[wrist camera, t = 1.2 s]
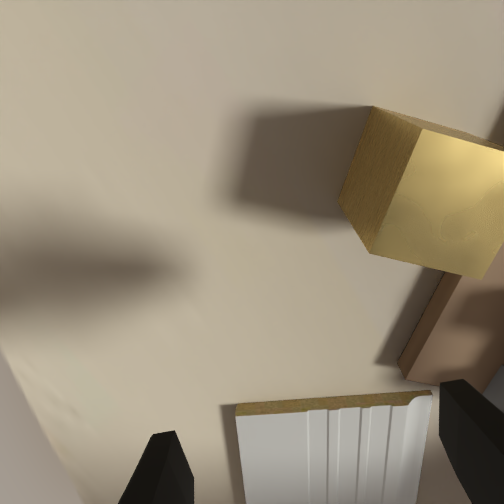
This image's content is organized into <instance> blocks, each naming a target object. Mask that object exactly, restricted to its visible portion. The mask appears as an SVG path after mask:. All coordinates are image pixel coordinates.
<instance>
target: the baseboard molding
mask: <svg viewBox="0 0 504 504" xmlns="http://www.w3.org/2000/svg"><path fill="white" fill-rule="evenodd" d="M432 397H433V394H432V392H431V390H425V391H411V392H397V393H383V394H369V395H354V396H340V397H326V398H312V399H298V400H284V401H269V402H255V403H241V404H237V406H236V411H235V418H236V426H237V434H238V442H239V450H240V459H241V467H242V475H243V483H244V491H245V499H246V504H416V500H417V493H418V487H419V481H420V474H421V468H422V461H423V455H424V448H425V442H426V435H427V429H428V423H429V416H430V410H431V403H432Z"/></svg>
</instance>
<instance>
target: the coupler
mask: <svg viewBox="0 0 504 504" xmlns="http://www.w3.org/2000/svg"><path fill="white" fill-rule="evenodd" d="M337 202H338V203H339V205H340V207H341V208H342V210H343V212H344V213H345V215H346V216H347V218H348V220H349V221H350V223H351V225H352V226H353V228H354V229H355V231H356V233H357V234H358V236H359V238H360V239H361V241H362V242H363V244H364V246H365V247H366V249H367V251H368V252H369V253H370V254H374V255H378V256H382V257H387V258H391V259H395V260H399V261H403V262H408V263H412V264H416V265H420V266H425V267H429V268H433V269H437V270H442V271H446V272H450V273H454V274H459V275H463V276H467V277H471V278H475V279H480V280H482V278H483V277H484V275H485V273H486V271H487V270H488V268H489V266H490V264H491V263H492V261H493V259H494V257H495V256H496V254H497V252H498V251H499V249H500V247H501V245H502V244H503V242H504V147H502V146H500V145H497V144H495V143H492V142H490V141H487V140H484V139H482V138H479V137H477V136H474V135H471V134H469V133H466V132H463V131H459V130H456V129H452V128H449V127H445V126H442V125H438V124H435V123H431V122H428V121H424V120H421V119H417V118H414V117H410V116H407V115H403V114H400V113H396V112H393V111H389V110H386V109H382V108H379V107H375V106H373V107H372V109H371V112H370V115H369V118H368V120H367V123H366V126H365V128H364V131H363V134H362V136H361V139H360V142H359V145H358V147H357V150H356V153H355V155H354V158H353V161H352V163H351V166H350V169H349V172H348V174H347V177H346V180H345V182H344V185H343V188H342V190H341V193H340V196H339V199H338V201H337Z"/></svg>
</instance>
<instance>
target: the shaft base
mask: <svg viewBox="0 0 504 504" xmlns="http://www.w3.org/2000/svg"><path fill="white" fill-rule="evenodd" d="M397 364H398V366H399V368H400V370H401V372H402V374H403V376H404V378H405V380H410V381H415V382H420V383H425V384H430V385H435V386H440V383H441V382H447V381H452V380H458V379H464V380H466V381H467V382H468V383H470V384H471V385H472V386H473V387H474V388H475V389H476V390H478V391H479V392H480V393H481V394H482V395H483V396H485V397H486V398H487V399H488V400H489V401H490V402H492V403H493V404H494V405H495V406H496V407H497V408H499V409H500V410H501V411H502V412H503V413H504V242H503V244H502V245H501V247H500V249H499V251H498V252H497V254H496V256H495V257H494V259H493V261H492V263H491V264H490V266H489V268H488V270H487V271H486V273H485V275H484V277H483V278H482V280H480V279H475V278H471V277H467V276H463V275H459V274H454V273H450V272H446V271H445V273H444V275H443V277H442V279H441V281H440V283H439V285H438V287H437V289H436V290H435V292H434V294H433V296H432V298H431V300H430V302H429V304H428V306H427V308H426V309H425V311H424V313H423V315H422V317H421V319H420V321H419V323H418V325H417V327H416V328H415V330H414V332H413V334H412V336H411V338H410V340H409V342H408V344H407V345H406V347H405V349H404V351H403V353H402V355H401V357H400V359H399V361H398V363H397Z"/></svg>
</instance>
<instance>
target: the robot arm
mask: <svg viewBox="0 0 504 504" xmlns="http://www.w3.org/2000/svg"><path fill="white" fill-rule="evenodd" d="M439 436H440V439H441V441H442V444H443V446H444V448H445V451H446V453H447V455H448V458H449V460H450V462H451V464H452V467H453V469H454V471H455V473H456V475H457V477H458V479H459V481H460V483H461V484H462V486H463V488H464V490H465V492H466V493H467V495H468V497H469V499H470V501H471V502H472V504H504V413H503V412H502V411H501V410H500V409H499V408H497V407H496V406H495V405H494V404H493V403H492V402H490V401H489V400H488V399H487V398H486V397H485V396H483V395H482V394H481V393H480V392H479V391H478V390H476V389H475V388H474V387H473V386H472V385H471V384H470V383H468V382H467V381H466V380H464V379H458V380H452V381H447V382H441V383H440V401H439ZM118 504H194V477H193V474H192V472H191V469H190V467H189V464H188V462H187V459H186V457H185V454H184V452H183V449H182V447H181V444H180V442H179V439H178V437H177V434H176V432H175V430H174V431H168V432H163V433H157V434H153V435H152V436H151V438H150V440H149V442H148V444H147V446H146V448H145V450H144V453H143V455H142V457H141V459H140V461H139V463H138V465H137V467H136V469H135V471H134V473H133V475H132V477H131V479H130V481H129V483H128V485H127V487H126V489H125V491H124V493H123V495H122V497H121V499H120V500H119V502H118Z"/></svg>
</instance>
